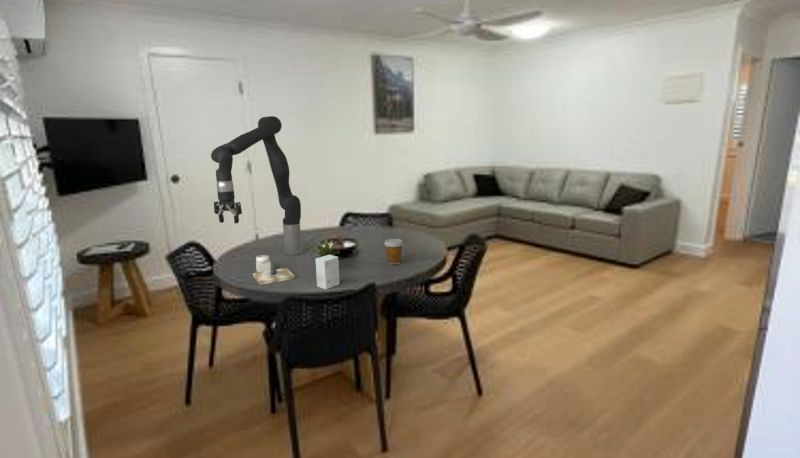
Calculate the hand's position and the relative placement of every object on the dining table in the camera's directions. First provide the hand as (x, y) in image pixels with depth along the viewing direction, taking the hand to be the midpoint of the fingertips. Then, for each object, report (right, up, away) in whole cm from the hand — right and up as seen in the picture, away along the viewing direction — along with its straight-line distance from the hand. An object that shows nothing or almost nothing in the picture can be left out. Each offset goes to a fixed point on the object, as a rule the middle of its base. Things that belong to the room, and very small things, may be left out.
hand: (229, 222), depth 219 cm
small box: (+52, -28, -21) cm, 63 cm away
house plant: (+48, -24, -3) cm, 54 cm away
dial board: (+25, -26, -9) cm, 37 cm away
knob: (+17, -24, 0) cm, 29 cm away
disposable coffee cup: (+81, -21, +11) cm, 84 cm away
